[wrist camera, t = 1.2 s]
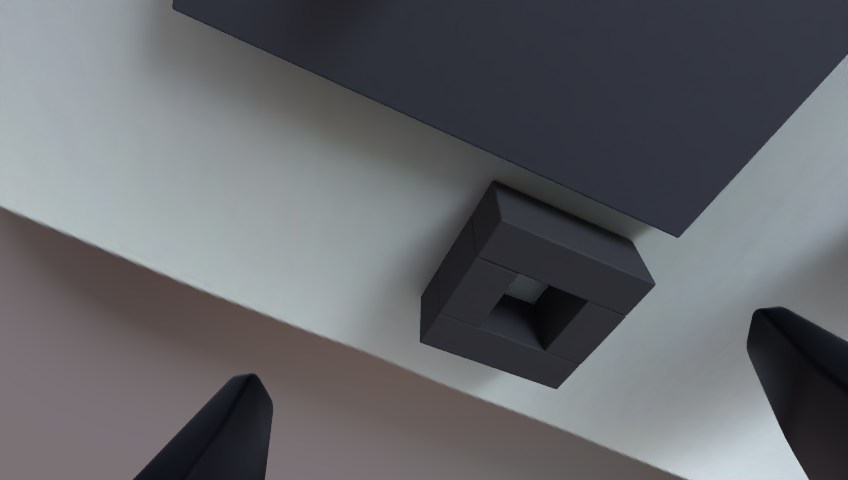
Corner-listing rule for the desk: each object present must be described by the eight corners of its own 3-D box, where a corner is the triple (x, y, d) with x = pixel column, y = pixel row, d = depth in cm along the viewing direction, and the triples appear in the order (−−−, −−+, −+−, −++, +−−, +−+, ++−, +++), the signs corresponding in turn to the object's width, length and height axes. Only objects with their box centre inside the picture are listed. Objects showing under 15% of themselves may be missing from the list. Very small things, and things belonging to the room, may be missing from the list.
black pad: (632, 240, 23) (657, 284, 20) (545, 342, 26) (556, 390, 24) (493, 179, 21) (501, 219, 18) (420, 296, 25) (419, 342, 22)
